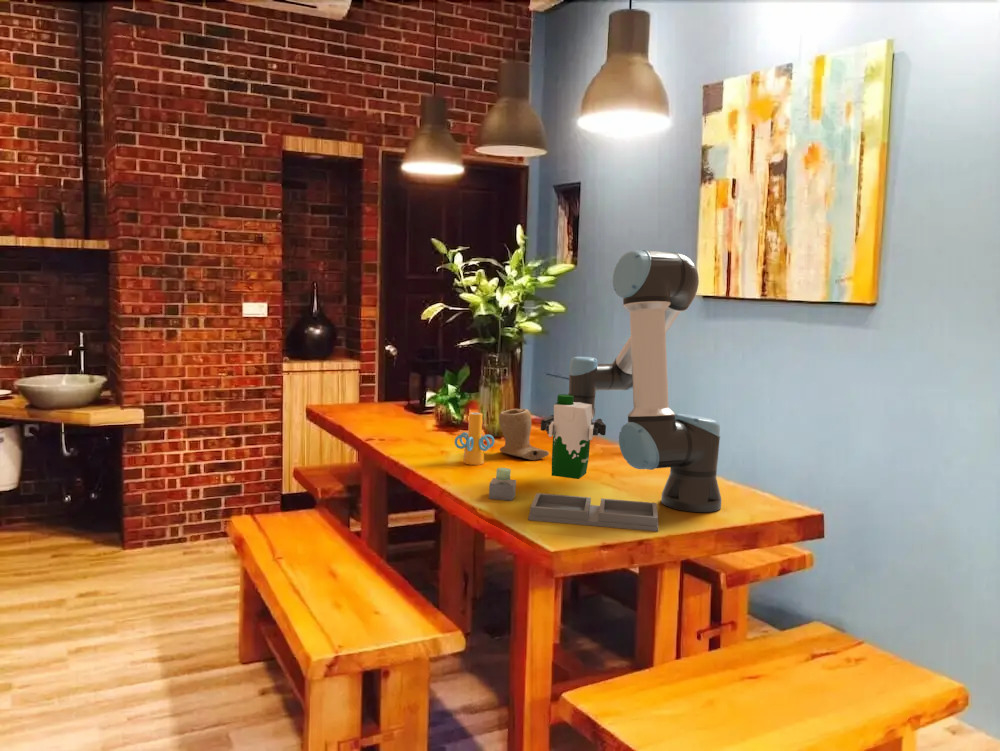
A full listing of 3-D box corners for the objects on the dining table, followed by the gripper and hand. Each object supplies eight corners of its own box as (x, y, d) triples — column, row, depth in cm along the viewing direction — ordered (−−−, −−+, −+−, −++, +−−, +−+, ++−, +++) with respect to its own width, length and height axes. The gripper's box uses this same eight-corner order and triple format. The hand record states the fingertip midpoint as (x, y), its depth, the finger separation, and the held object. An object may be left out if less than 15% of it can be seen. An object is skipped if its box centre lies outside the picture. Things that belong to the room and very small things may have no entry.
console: (515, 494, 229) (516, 479, 228) (512, 500, 223) (513, 485, 222) (492, 493, 229) (493, 478, 229) (488, 498, 224) (489, 483, 223)
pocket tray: (656, 514, 216) (657, 502, 216) (658, 531, 202) (659, 518, 202) (535, 504, 221) (535, 492, 220) (528, 519, 206) (529, 507, 206)
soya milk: (557, 469, 227) (561, 392, 225) (591, 473, 224) (596, 395, 222) (546, 476, 219) (551, 396, 217) (582, 480, 216) (587, 400, 214)
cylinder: (457, 467, 257) (459, 416, 255) (450, 459, 267) (452, 410, 265) (498, 466, 260) (500, 416, 258) (489, 459, 270) (491, 410, 268)
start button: (511, 477, 227) (511, 468, 227) (509, 480, 223) (509, 471, 223) (497, 476, 228) (497, 467, 227) (495, 479, 224) (495, 470, 224)
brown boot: (489, 453, 278) (491, 406, 276) (519, 450, 285) (521, 404, 283) (519, 463, 266) (522, 414, 264) (549, 459, 273) (552, 412, 271)
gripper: (617, 435, 237) (614, 451, 215) (536, 428, 240) (525, 444, 218) (619, 407, 236) (616, 421, 214) (538, 401, 239) (526, 414, 217)
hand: (570, 433), depth 216 cm, fingers closed on soya milk, 9 cm apart
